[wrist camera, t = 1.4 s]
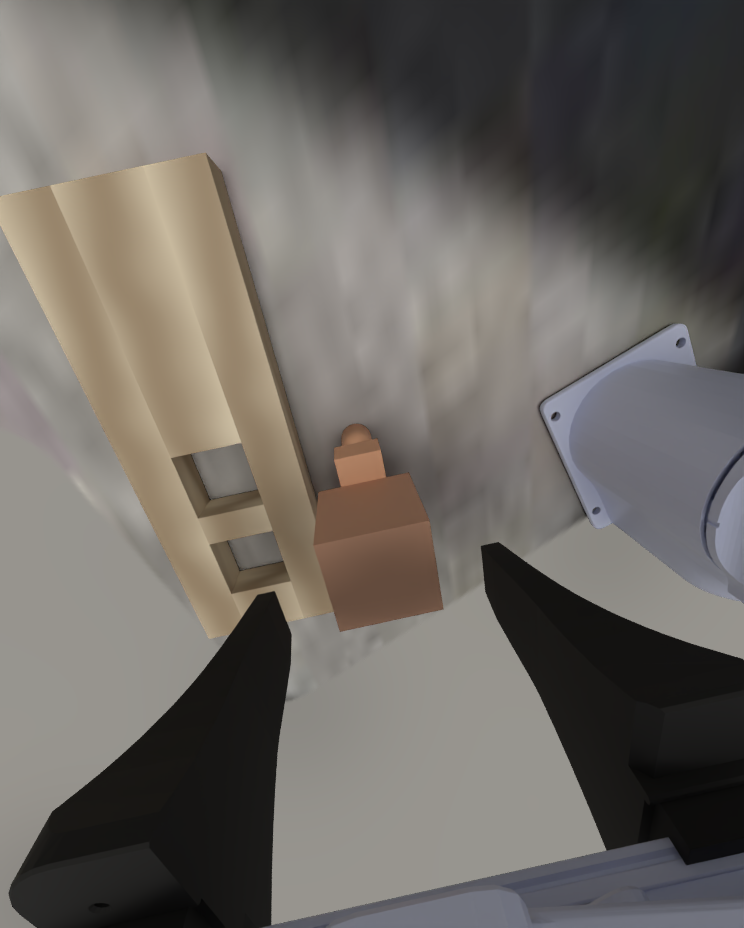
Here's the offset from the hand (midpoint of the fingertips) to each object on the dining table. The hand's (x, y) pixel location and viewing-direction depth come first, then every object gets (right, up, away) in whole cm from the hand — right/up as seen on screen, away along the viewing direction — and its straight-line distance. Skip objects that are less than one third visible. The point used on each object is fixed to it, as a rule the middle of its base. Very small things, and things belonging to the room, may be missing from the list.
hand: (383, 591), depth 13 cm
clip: (-1, +3, +8) cm, 9 cm away
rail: (-8, +6, +7) cm, 12 cm away
